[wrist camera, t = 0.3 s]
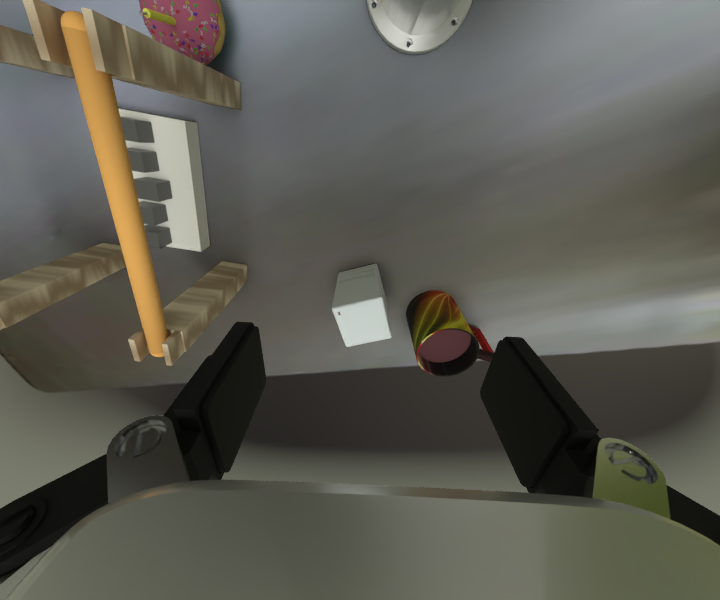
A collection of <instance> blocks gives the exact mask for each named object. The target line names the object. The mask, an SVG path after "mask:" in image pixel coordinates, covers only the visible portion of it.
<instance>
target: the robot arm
mask: <svg viewBox="0 0 720 600" xmlns="http://www.w3.org/2000/svg"><path fill="white" fill-rule="evenodd" d="M472 1H473V0H366V3H367V8H368V12H369V15H370V18H371V21H372V23H373V25H374V27H375V29H376V31H377V32H378V33H379V35H380V36H381V38H382V39H383V40H384V41H385V42H386V43H387V44H388V45H389V46H390V47H392V48H394V49H396V50H397V51H399V52H402V53H406V54H414V55H419V54H423V53H428V52H430V51H432V50H434V49H436V48H438V47H440V46H441V45H442V44H444V43H445V42H446V41H447V40H448V39H449V38H450V37H451V36H452V35H453V34H454V33H455V32H456V30H457V29H458V28H459V26H460V25H461V23H462V22H463V20H464V18H465V17H466V15H467V13H468V11H469V8H470V6H471V4H472ZM373 4H376V8H373V7H372V5H373ZM452 21H454V23H455V25H454V26H453V25H452V24H451V22H452ZM407 43H409V44H410V47H409V48H408V47H407V46H406V44H407ZM265 384H266V375H265V368H264V361H263V354H262V348H261V341H260V334H259V329H258V327H255V326H254V324H253V323H251V322H236V323H235V324H234V325H233V327H232V328H231V330H230V331H229V332H228V334H227V335H226V336H225V338H224V339H223V341H222V342H221V343H220V345H219V346H218V347H217V349H216V350H215V352H214V353H213V354H212V355H210V356H208V357H207V358H206V359H205V360H204V362H203V363H202V364H201V366H200V367H199V368H198V370H197V371H196V372H195V374H194V375H193V377H192V378H191V379H190V381H189V382H188V383H187V385H186V386H185V387H184V389H183V390H182V391H181V393H180V394H179V395H178V397H177V398H176V399H175V401H174V402H173V403H172V405H171V406H170V407H169V409H168V410H167V411H166V413H165V414H164V416H161V415H153V416H147V417H144V418H141V419H138V420H136V421H134V422H132V423H131V424H129V425H127V426H126V427H124V428H123V429H122V430H120V431H119V432H118V434H116V435H115V437H114V438H113V439H112V441H111V442H110V444H109V446H108V449H107V454H105V455H103V456H101V457H99V458H97V459H95V460H93V461H92V462H89V463H88V464H85V465H84V466H82V467H80V468H78V469H76V470H74V471H72V472H70V473H68V474H66V475H64V476H62V477H60V478H58V479H56V480H54V481H52V482H50V483H48V484H46V485H44V486H42V487H40V488H38V489H36V490H34V491H33V492H30V493H28V494H26V495H25V496H22V497H21V498H18V499H16V500H14V501H13V502H11V503H9V504H8V505H6V506H4V507H3V508H1V509H0V600H720V516H719V515H717V514H716V513H714V512H712V511H710V510H708V509H707V508H705V507H704V506H702V505H700V504H698V503H696V502H695V501H693V500H691V499H690V498H688V497H686V496H685V495H683V494H681V493H679V492H678V491H676V490H674V489H673V488H671V487H669V486H667V485H666V480H665V477H664V474H663V472H662V471H661V469H660V468H659V466H658V465H657V464H656V463H655V462H654V461H653V460H652V459H651V458H650V457H649V456H648V455H646V454H645V453H644V452H642V451H641V450H640V449H638V448H636V447H634V446H633V445H631V444H629V443H627V442H624V441H622V440H619V439H614V438H604V439H602V440H601V439H600V438H599V437H598V435H597V432H598V431H599V430H598V429H597V428H596V427H595V425H594V424H593V423H592V422H591V420H590V419H589V418H588V417H587V416H586V414H585V413H584V412H583V411H582V409H581V408H580V407H579V406H578V405H577V403H576V402H575V401H574V400H573V398H572V397H571V396H570V395H569V394H568V392H567V391H566V390H565V389H564V387H563V386H562V385H561V384H560V383H559V382H558V380H557V379H556V378H555V376H554V375H553V374H552V373H551V372H550V370H549V369H548V368H547V367H546V366H545V364H544V363H543V362H542V361H541V360H540V359H539V357H538V356H537V355H536V353H535V352H534V351H533V350H532V348H531V347H530V346H529V345H528V344H527V342H526V341H525V340H524V339H523V338H520V337H505V338H504V339H503V340H500V341H499V343H498V345H497V348H496V350H495V353H494V355H493V358H492V361H491V363H490V366H489V369H488V372H487V374H486V377H485V379H484V382H483V384H482V387H481V391H480V394H481V399H482V401H483V403H484V405H485V407H486V409H487V412H488V414H489V416H490V418H491V420H492V423H493V425H494V427H495V429H496V431H497V433H498V435H499V438H500V440H501V442H502V444H503V446H504V449H505V451H506V452H507V455H508V457H509V459H510V461H511V464H512V466H513V467H514V470H515V472H516V475H517V477H518V479H519V481H520V483H521V484H522V485H523V486H524V487H526V488H527V490H528V492H529V493H521V492H520V493H519V492H502V491H501V492H500V491H482V490H464V489H445V488H424V487H403V486H402V487H401V486H382V485H381V486H380V485H359V484H358V485H357V484H336V483H313V482H289V481H256V480H221V479H222V476H223V474H224V472H229V471H230V469H231V467H232V465H233V462H234V460H235V457H236V455H237V453H238V450H239V448H240V445H241V443H242V441H243V438H244V436H245V433H246V431H247V428H248V426H249V423H250V421H251V419H252V416H253V414H254V412H255V409H256V407H257V404H258V402H259V400H260V397H261V395H262V392H263V390H264V387H265Z"/></svg>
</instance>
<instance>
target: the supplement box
mask: <svg viewBox="0 0 720 600" xmlns="http://www.w3.org/2000/svg"><path fill="white" fill-rule="evenodd" d="M332 311H333V314H334V316H335V319H336V321H337V324H338V326H339V329H340V332H341V334H342V337H343V340H344V342H345V345H346V347H350V346H354V345H359V344H364V343H369V342H374V341H379V340H384V339H389V338H392V337H391V331H390V324H389V318H388V311H387V303H386V297H385V293H384V289H383V285H382V281H381V278H380V274H379V270H378V266H377V264H372V265H368V266H363V267H359V268H355V269H351V270H347V271H343V272H339V273H338V278H337V283H336V288H335V293H334V299H333V304H332Z"/></svg>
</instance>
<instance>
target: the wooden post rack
mask: <svg viewBox="0 0 720 600" xmlns="http://www.w3.org/2000/svg"><path fill="white" fill-rule="evenodd" d="M23 3H24V6H25V9H26V12H27V16H28V19H29V22H30V25H31V28H32V32H33V35H34V36H33V35H29V34H26V33H23V32H20V31H17V30H14V29H11V28H8V27H5V26H2V25H0V62H2V63H7V64H11V65H15V66H20V67H24V68H29V69H33V70H37V71H42V72H46V73H51V74H56V75H61V76H66V77H71V78H75V75H74V72H73V68H72V64H71V61H70V57H69V53H68V50H67V46H66V42H65V38H64V35H63V31H62V27H61V17H62V15H63V14H64V13H65V12H64V11H62V10H60V9H57V8H55V7H53V6H51V5H48V4H46V3H44V2H42V1H39V0H23ZM81 9H82V13H83V17H84V22H85V26H86V30H87V34H88V38H89V42H90V47H91V51H92V55H93V59H94V63H95V68H96V70H98V71H101V72H105V73H109V74H111V78H113V79H117V80H120V81H124V82H128V83H132V84H136V85H139V86H143V87H147V88H151V89H155V90H158V91H162V92H166V93H170V94H173V95H177V96H181V97H185V98H189V99H192V100H196V101H200V102H204V103H208V104H213V105H218V106H223V107H228V108H234V109H239V110H241V89H240V82H238V81H236V80H234V79H232V78H230V77H228V76H226V75H224V74H222V73H220V72H218V71H216V70H214V69H212V68H210V67H208V66H206V65H204V64H202V63H200V62H198V61H196V60H194V59H192V58H190V57H188V56H186V55H184V54H182V53H180V52H178V51H176V50H174V49H172V48H170V47H168V46H166V45H164V44H162V43H160V42H158V41H156V40H154V39H152V38H150V37H148V36H146V35H144V34H142V33H140V32H138V31H136V30H134V29H132V28H130V27H128V26H126V25H122V24H120V23H118V22H116V21H114V20H112V19H110V18H108V17H106V16H104V15H102V14H100V13H98V12H95V11H93V10H91V9H87V8H82V7H81ZM125 267H126V264H125V260H124V256H123V252H122V249H121V245H115V244H109V243H101V244H98V245H95V246H93V247H90V248H87V249H84V250H82V251H79V252H76V253H74V254H71V255H68V256H66V257H63V258H60V259H58V260H55V261H52V262H50V263H47V264H44V265H42V266H39V267H36V268H34V269H31V270H28V271H25V272H23V273H20V274H17V275H15V276H12V277H9V278H7V279H4V280H1V281H0V330H1V329H3V328H7V327H9V326H11V325H13V324H15V323H17V322H19V321H21V320H23V319H25V318H27V317H29V316H31V315H33V314H35V313H37V312H39V311H40V310H42V309H44V308H46V307H48V306H50V305H52V304H54V303H56V302H58V301H60V300H62V299H64V298H66V297H68V296H70V295H72V294H74V293H76V292H78V291H80V290H82V289H84V288H86V287H87V286H89V285H91V284H93V283H95V282H97V281H99V280H101V279H103V278H105V277H107V276H109V275H111V274H113V273H115V272H117V271H119V270H121V269H123V268H125ZM247 281H248V268H247V265H244V264H238V263H231V262H225V261H221V262H220V263H219V264H218V265H217V266H215V267H214V268H213V269H212V270H210V271H209V272H208V273H207V274H205V275H204V276H203V277H202V278H201V279H199V280H198V281H197V282H196V283H194V284H193V285H192V286H191V287H190V288H188V289H187V290H186V291H185V292H183V293H182V294H181V295H180V296H178V297H177V298H176V299H175V300H174V301H172V302H171V303H170V304H169V305H167V306H166V307H165V308H164V309H162V310H163V314H164V319H165V323H166V328H167V332H168V338H167V339H166V340H165V341H164V342H163V343H162V348H163V352H164V356H165V360H166V365H173V364H174V363H175V362H176V360H177V359H178V358H179V357H180V356H181V355H182V354H183V352H184V351H185V352H186V351H187V350H188V349H189V348H190V347H191V345H192V344H193V343H194V342H195V341H196V340H197V338H198V337H199V336H200V335H201V334H202V333H203V332H204V330H205V329H206V328H207V327H208V326H209V325H210V323H211V322H212V321H213V320H214V319H215V318H216V317H217V315H218V314H219V313H220V312H221V311H222V310H223V308H224V307H225V306H226V305H227V304H228V303H229V301H230V300H231V299H232V298H233V297H234V296H235V295H236V293H237V292H238V291H239V290H240V289H241V288H242V286H243V285H244V284H245V283H246V282H247ZM128 340H129V344H130V347H131V350H132V353H133V357H134V360H135V361H141V360H142V359H143V358H144V357H146V356H147V355H148V354H149V353H150V352H149V348H148V345H147V341H146V337H145V334H144V330H143V326H142V328H141V329H140V330H139V331H138V332H136V333H135V334H134V335H133V336H131V337H130V338H129V339H128Z"/></svg>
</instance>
